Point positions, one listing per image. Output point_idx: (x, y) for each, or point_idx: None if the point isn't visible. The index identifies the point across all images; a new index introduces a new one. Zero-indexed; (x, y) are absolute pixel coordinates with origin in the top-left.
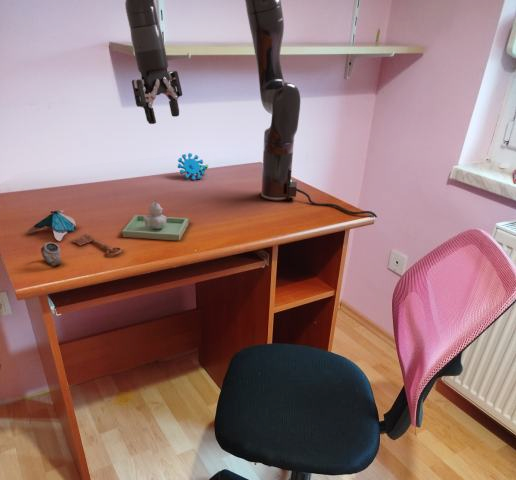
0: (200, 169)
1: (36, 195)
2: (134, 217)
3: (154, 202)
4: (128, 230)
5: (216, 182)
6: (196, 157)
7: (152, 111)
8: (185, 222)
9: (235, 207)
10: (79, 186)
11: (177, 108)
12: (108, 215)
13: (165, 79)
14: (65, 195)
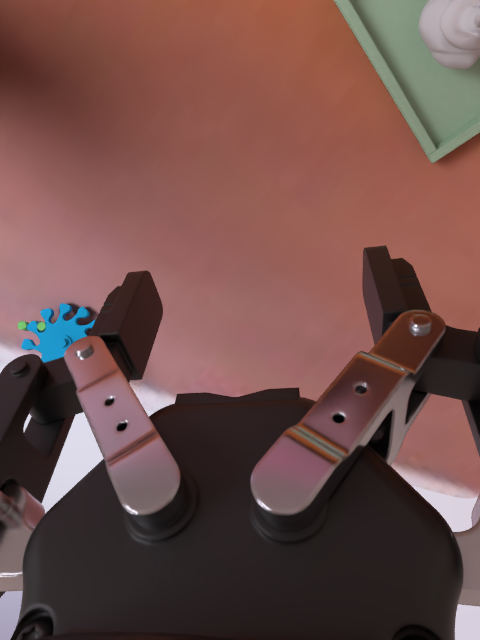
0: (47, 324)
1: (452, 453)
2: (455, 143)
3: (475, 32)
4: None
5: (36, 259)
6: None
7: (393, 293)
8: None
9: (85, 21)
10: None
11: (120, 297)
12: (450, 250)
13: (139, 491)
14: None
